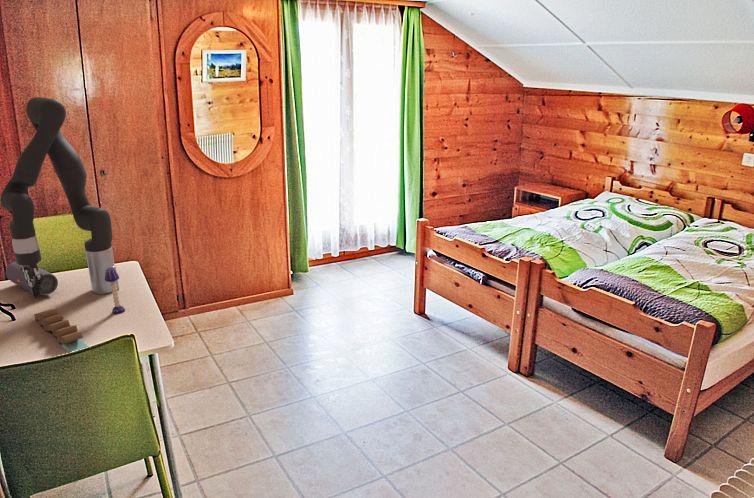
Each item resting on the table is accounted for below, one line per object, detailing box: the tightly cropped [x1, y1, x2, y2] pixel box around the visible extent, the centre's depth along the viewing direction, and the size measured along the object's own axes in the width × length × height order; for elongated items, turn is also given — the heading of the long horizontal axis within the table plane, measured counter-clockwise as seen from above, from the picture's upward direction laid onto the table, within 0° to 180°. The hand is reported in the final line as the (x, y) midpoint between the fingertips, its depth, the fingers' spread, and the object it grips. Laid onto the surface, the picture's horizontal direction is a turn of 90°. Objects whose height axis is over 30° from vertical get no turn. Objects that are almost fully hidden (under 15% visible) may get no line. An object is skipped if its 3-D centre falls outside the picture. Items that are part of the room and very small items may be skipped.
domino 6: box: [61, 338, 90, 353], centre depth 184 cm, size 2×5×10 cm
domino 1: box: [33, 308, 60, 321], centre depth 201 cm, size 2×5×10 cm
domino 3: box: [42, 319, 71, 332], centre depth 194 cm, size 2×5×10 cm
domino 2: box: [37, 313, 65, 326], centre depth 197 cm, size 2×5×10 cm
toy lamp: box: [105, 267, 126, 315], centre depth 207 cm, size 5×5×17 cm
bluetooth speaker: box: [5, 261, 59, 296], centre depth 225 cm, size 23×9×10 cm, turn 56°
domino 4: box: [51, 324, 79, 337], centre depth 190 cm, size 2×5×10 cm
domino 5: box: [56, 331, 84, 344], centre depth 186 cm, size 2×5×10 cm
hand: (36, 295), depth 203 cm, fingers closed
